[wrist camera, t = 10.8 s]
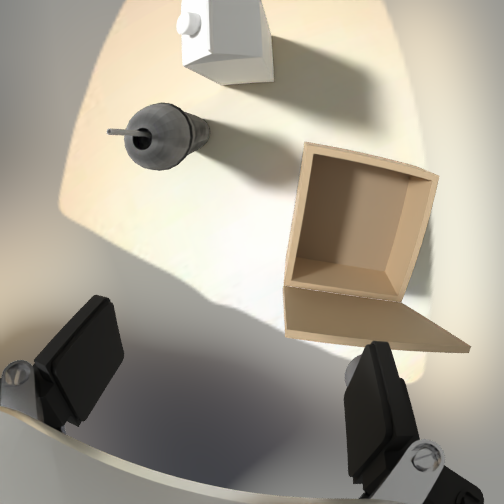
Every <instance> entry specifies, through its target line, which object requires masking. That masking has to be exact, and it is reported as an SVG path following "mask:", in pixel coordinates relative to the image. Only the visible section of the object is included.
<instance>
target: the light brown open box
mask: <svg viewBox="0 0 504 504" xmlns="http://www.w3.org/2000/svg"><path fill="white" fill-rule="evenodd" d="M438 180H439V176H438V175H436V174H434V173H431V172H429V171H426V170H424V169H421V168H419V167H416V166H413V165H409V164H406V163H402V162H398V161H394V160H390V159H386V158H382V157H378V156H374V155H370V154H365V153H361V152H356V151H351V150H347V149H342V148H337V147H332V146H326V145H321V144H315V143H309V142H304V149H303V156H302V162H301V169H300V176H299V182H298V189H297V195H296V201H295V207H294V213H293V219H292V225H291V231H290V237H289V243H288V249H287V254H286V262H285V275H284V285H286V286H292V287H298V288H305V289H311V290H318V291H325V292H331V293H338V294H345V295H352V296H359V297H366V298H373V299H381V300H388V301H396V302H401V301H402V299H403V296H404V294H405V291H406V288H407V286H408V283H409V280H410V277H411V275H412V272H413V269H414V266H415V263H416V260H417V257H418V254H419V251H420V247H421V244H422V241H423V238H424V234H425V231H426V227H427V224H428V220H429V217H430V213H431V209H432V205H433V201H434V197H435V193H436V188H437V184H438Z"/></svg>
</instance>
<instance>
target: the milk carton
mask: <svg viewBox="0 0 504 504" xmlns="http://www.w3.org/2000/svg"><path fill="white" fill-rule="evenodd" d="M177 32H178V33H179V34H181V35H182V61H183V66H184V67H186V68H188V69H190V70H192V71H194V72H196V73H198V74H200V75H202V76H204V77H206V78H208V79H210V80H212V81H214V82H216V83H218V84H220V85H230V84H242V83H257V82H274V68H273V52H272V37H271V33H270V29H269V25H268V22H267V18H266V15H265V11H264V8H263V5H262V1H261V0H182V5H181V15H180V16H179V18H178V21H177Z"/></svg>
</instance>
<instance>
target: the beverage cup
mask: <svg viewBox="0 0 504 504" xmlns="http://www.w3.org/2000/svg"><path fill="white" fill-rule="evenodd" d="M107 134H108V135H125V136H124V142H125V148H126V150H127V152H128V155H129V156H130V157H131V159H132V160H133V161H134V162H135V163H137V164H138V165H140V166H142V167H143V168H147V169H152V170H159V171H160V170H167V169H171V168H173V167H175V166H177V165H178V164H179V163H180V162H181V161H182V160H183V159H184V158H185V157H186V156H187V155H189V154H190V153H192V152H194V151H196V150H197V149H199V148H201V147H202V146H203V145H204V144H205V143H206V142H207V141H208V139H209V135H210V128H209V126H208V124H207V123H206V122H205V120H203V119H201V118H199V117H197V116H195V115H192V114H189V113H186V112H184V111H182V110H181V109H180V108H179V107H177V106H175V105H173V104H169V103H157V104H153V105H150V106H147V107H145V108H143V109H142V110H140V111H138V112H137V113H136V114H135V115H134V116H133V117H132V118H131V120H130V121H129V123H128V125H127V128H126V130H124V129H108V130H107Z"/></svg>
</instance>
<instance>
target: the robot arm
mask: <svg viewBox="0 0 504 504" xmlns="http://www.w3.org/2000/svg"><path fill="white" fill-rule="evenodd" d="M123 358H124V351H123V347H122V343H121V339H120V334H119V329H118V325H117V321H116V315H115V311H114V305H113V303H111V302H110V299H109V298H107V297H103V296H99V295H94V296H93V297H92V298H91V299H90V300H89V301H88V302H87V303H86V304H85V305H84V306H83V307H82V308H81V309H80V310H79V311H78V312H77V313H76V314H75V315H74V316H73V318H72V319H71V320H70V321H69V322H68V323H67V324H66V325H65V326H64V327H63V328H62V329H61V330H60V331H59V332H58V334H57V335H56V336H55V337H54V338H53V339H52V340H51V341H50V342H49V343H48V345H47V346H46V347H45V348H44V349H43V350H42V351H41V352H40V354H39V355H38V356H37V357H36V358H35V359H34V362H35V364H34V365H33V366H32V365H31V364H30V363H29V362H27V361H24V360H18V361H14V362H12V363H10V364H9V365H8V366H7V367H6V368H5V369H4V371H3V374H2V378H0V504H484V498H483V494H482V492H481V490H480V489H479V488H478V487H477V486H475V485H473V484H472V483H470V482H469V481H467V480H466V479H464V478H463V477H461V476H459V475H458V474H457V473H455V472H453V471H452V470H450V469H449V468H448V467H446V466H445V465H444V463H445V455H444V452H443V450H442V448H441V447H440V446H439V445H438V444H437V443H435V442H433V441H431V440H426V439H423V440H420V438H419V434H418V430H417V426H416V422H415V418H414V414H413V410H412V406H411V402H410V398H409V395H408V392H407V388H406V384H405V382H404V380H403V379H402V378H399V375H398V371H397V368H396V365H395V361H394V358H393V355H392V351H391V348H390V345H389V343H388V342H384V341H372V342H371V344H367V345H366V346H365V348H364V351H363V353H362V356H361V358H360V360H359V363H358V365H357V367H356V369H355V372H354V374H353V376H352V378H351V381H350V383H349V385H348V387H347V389H346V391H345V395H344V407H345V421H346V435H347V452H348V473H349V476H350V477H353V484H361V483H362V484H363V490H364V491H365V492H364V493H363V494H362V495H361V496H360V497H359V499H324V498H323V499H322V498H301V497H287V496H276V495H266V494H258V493H251V492H244V491H238V490H231V489H226V488H221V487H216V486H211V485H206V484H201V483H198V482H193V481H189V480H185V479H181V478H178V477H174V476H171V475H167V474H164V473H160V472H157V471H154V470H151V469H148V468H145V467H142V466H139V465H136V464H133V463H131V462H128V461H125V460H122V459H120V458H117V457H115V456H112V455H110V454H107V453H105V452H102V451H100V450H98V449H95V448H93V447H91V446H89V445H87V444H84V443H82V442H80V441H78V440H76V439H74V438H72V437H69V436H68V435H66V431H65V426H64V425H65V423H66V421H68V422H69V423H72V424H74V425H76V426H78V427H79V425H80V423H81V421H85V420H86V419H87V418H88V416H89V414H90V412H91V411H92V409H93V408H94V406H95V404H96V403H97V401H98V399H99V398H100V396H101V395H102V393H103V391H104V390H105V388H106V387H107V385H108V383H109V382H110V380H111V378H112V377H113V375H114V374H115V372H116V371H117V369H118V367H119V366H120V364H121V363H122V361H123Z"/></svg>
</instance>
